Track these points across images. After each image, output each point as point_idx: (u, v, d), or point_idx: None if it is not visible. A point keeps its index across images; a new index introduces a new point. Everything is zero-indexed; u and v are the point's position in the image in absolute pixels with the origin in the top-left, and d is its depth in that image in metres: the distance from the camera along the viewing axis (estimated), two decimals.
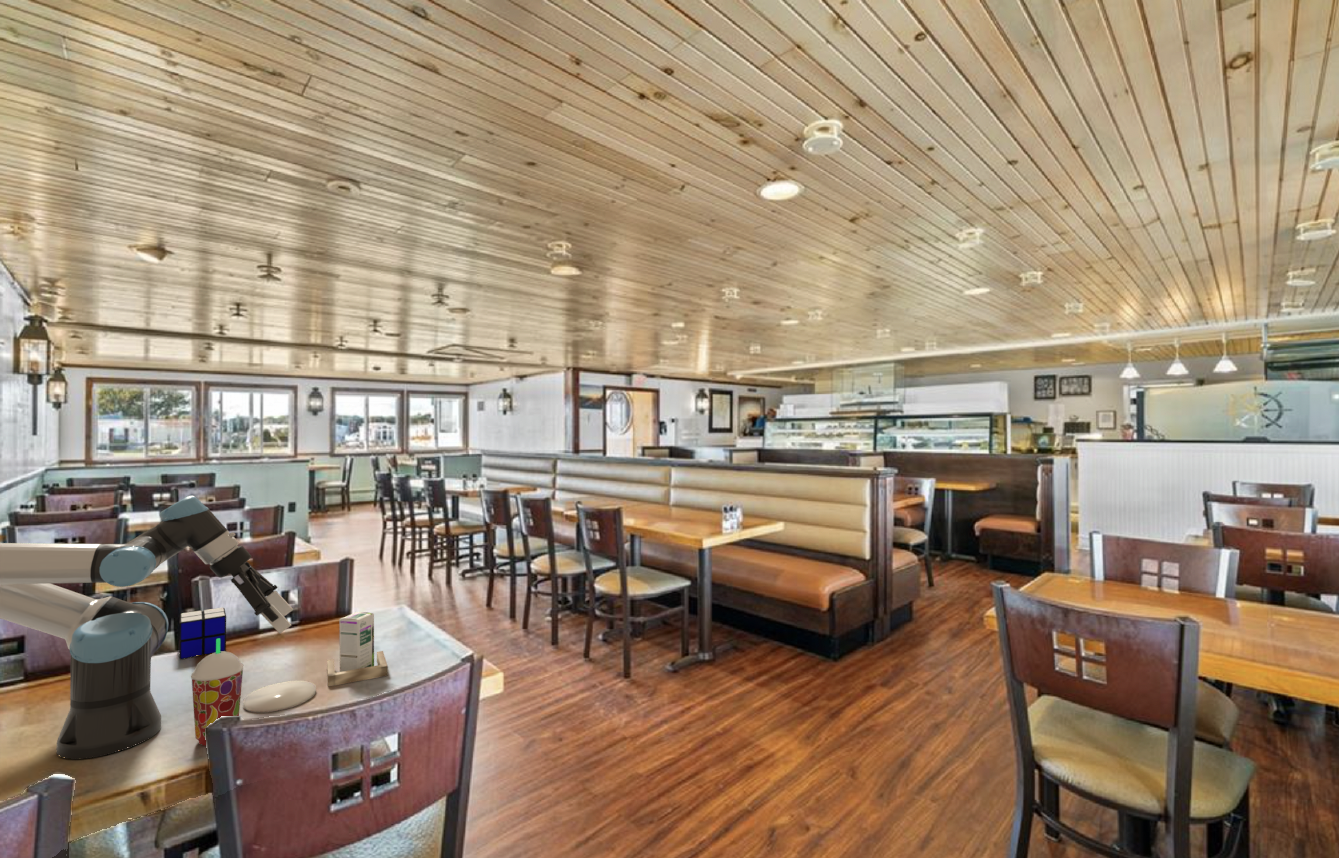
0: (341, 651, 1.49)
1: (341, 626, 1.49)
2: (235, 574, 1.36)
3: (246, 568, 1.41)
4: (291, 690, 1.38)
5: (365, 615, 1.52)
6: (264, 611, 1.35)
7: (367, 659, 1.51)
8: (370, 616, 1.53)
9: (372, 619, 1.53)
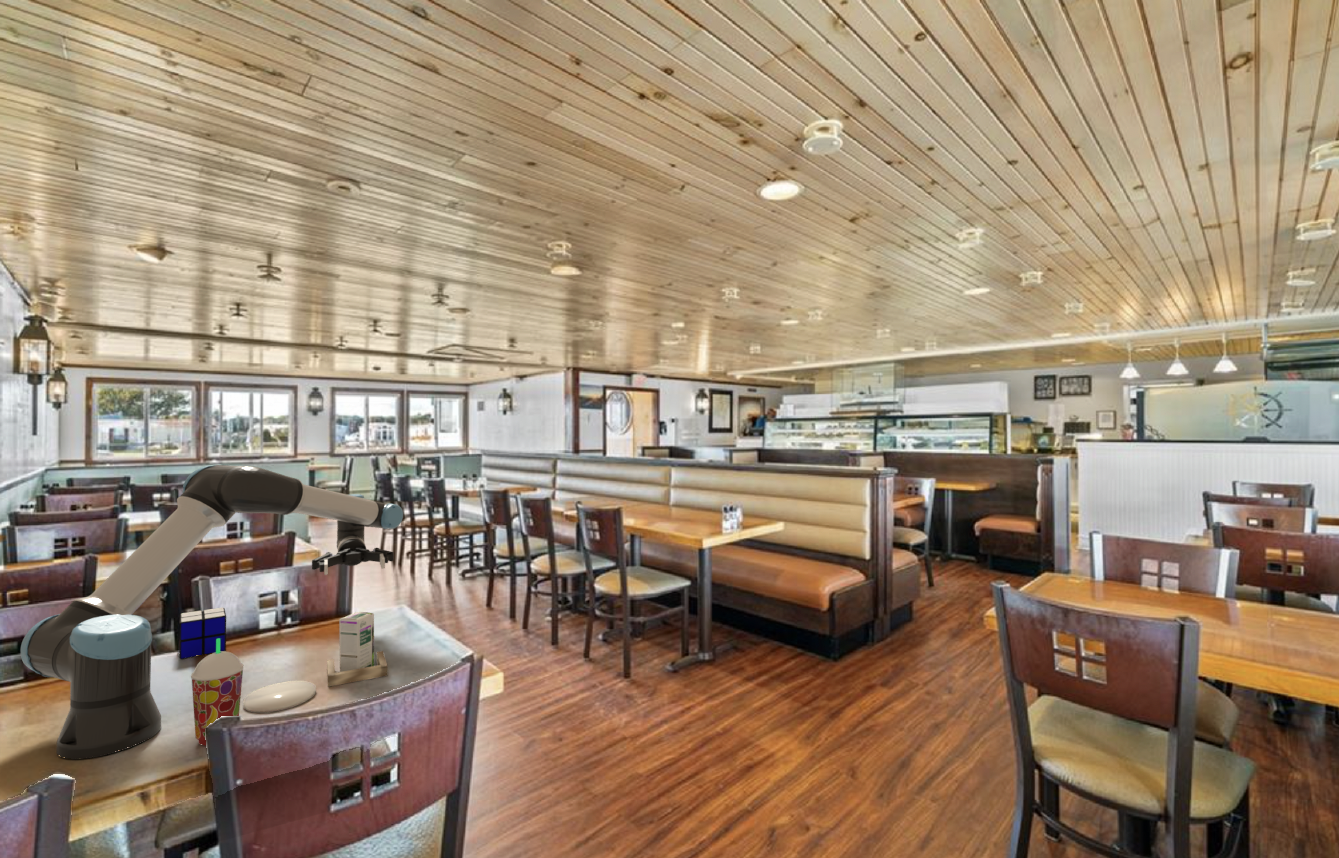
0: (341, 651, 1.49)
1: (341, 626, 1.49)
2: None
3: None
4: (291, 690, 1.38)
5: (365, 615, 1.52)
6: (387, 556, 1.69)
7: (367, 659, 1.51)
8: (370, 616, 1.53)
9: (372, 619, 1.53)
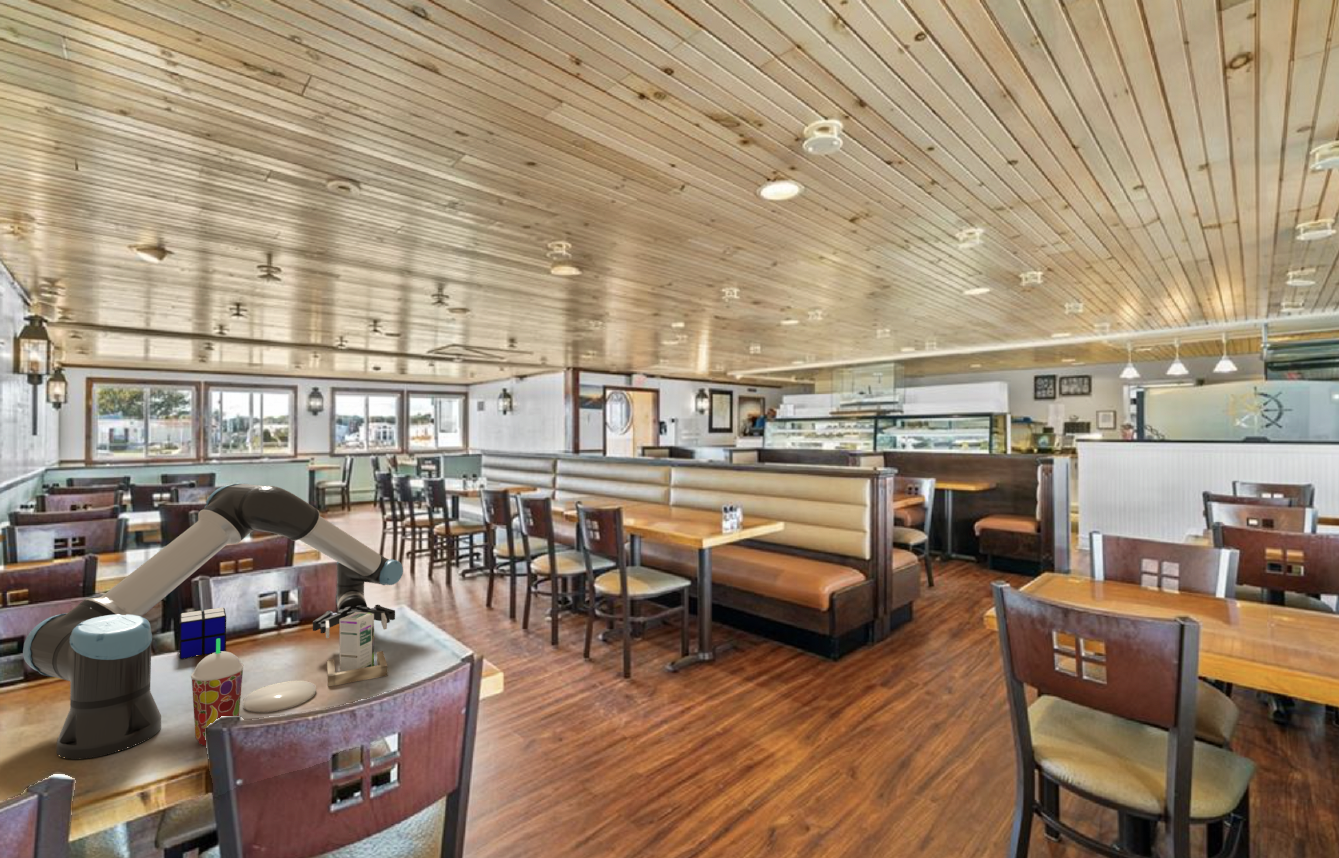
0: (341, 651, 1.49)
1: (341, 626, 1.49)
2: None
3: None
4: (291, 690, 1.38)
5: (365, 615, 1.52)
6: (389, 615, 1.68)
7: (367, 659, 1.51)
8: (370, 616, 1.53)
9: (372, 619, 1.53)
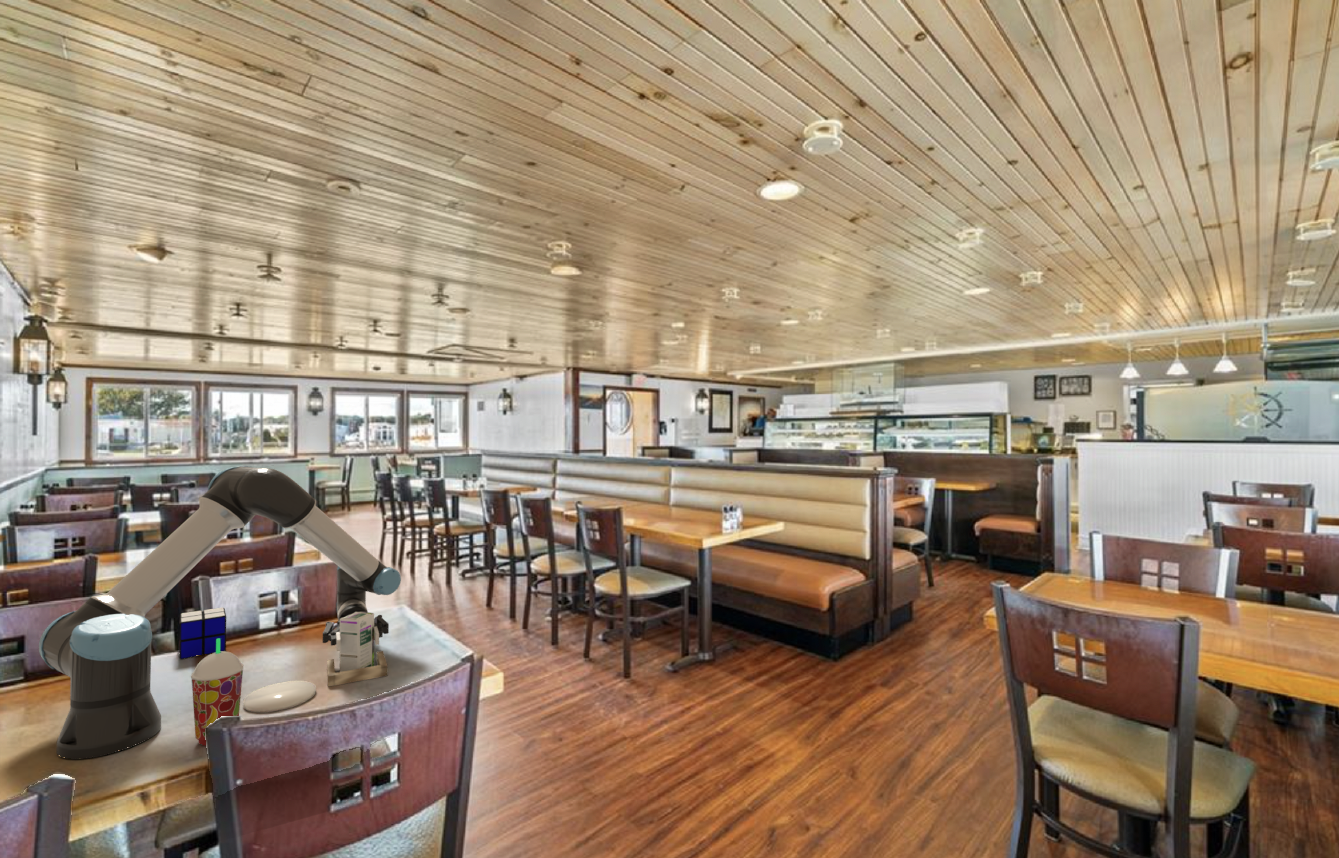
0: (341, 651, 1.49)
1: (341, 626, 1.49)
2: None
3: None
4: (291, 690, 1.38)
5: (365, 615, 1.52)
6: (382, 629, 1.56)
7: (367, 659, 1.51)
8: (370, 616, 1.53)
9: (372, 619, 1.53)
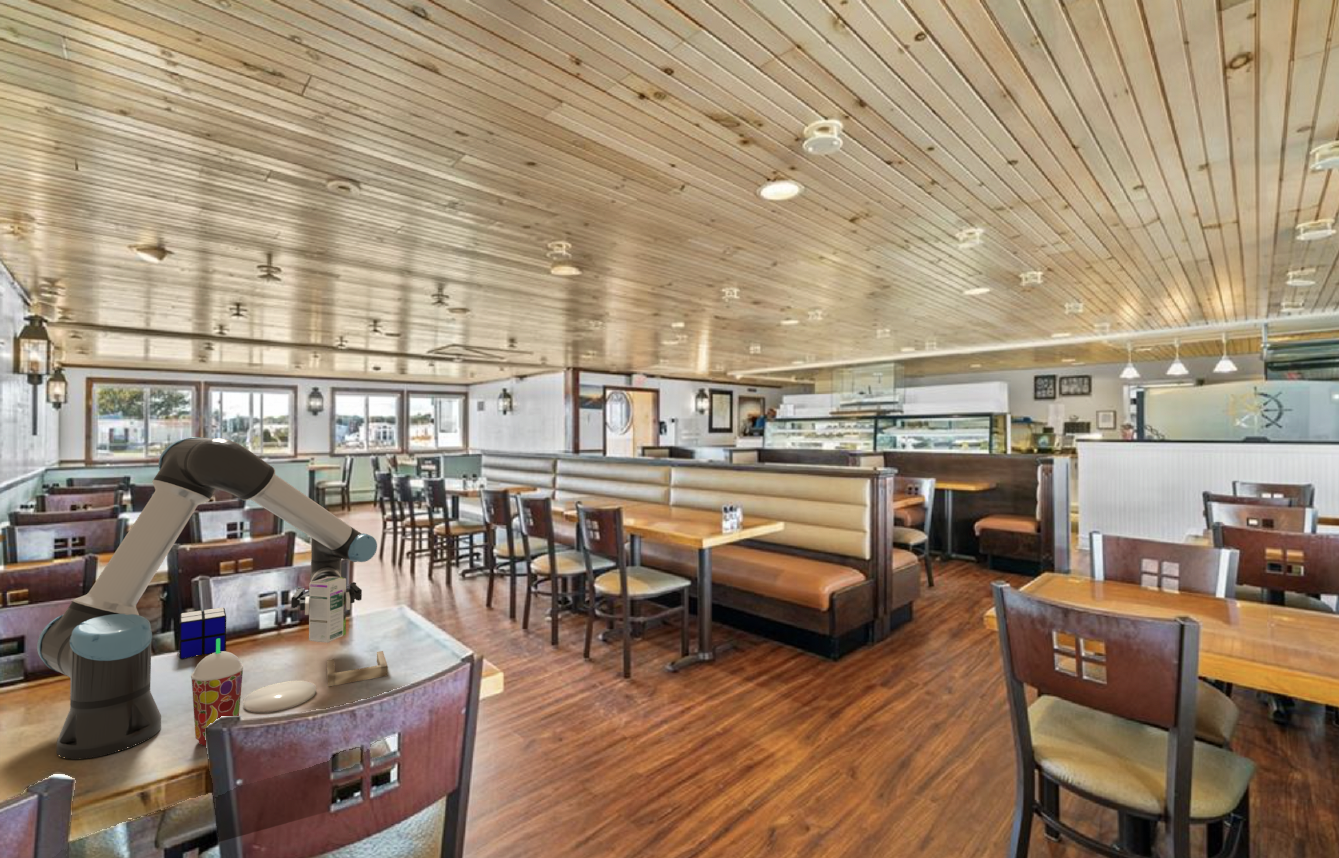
0: (310, 616, 1.43)
1: (311, 590, 1.43)
2: None
3: None
4: (291, 690, 1.38)
5: (336, 579, 1.46)
6: (354, 595, 1.50)
7: (338, 625, 1.45)
8: (342, 581, 1.47)
9: (344, 584, 1.47)
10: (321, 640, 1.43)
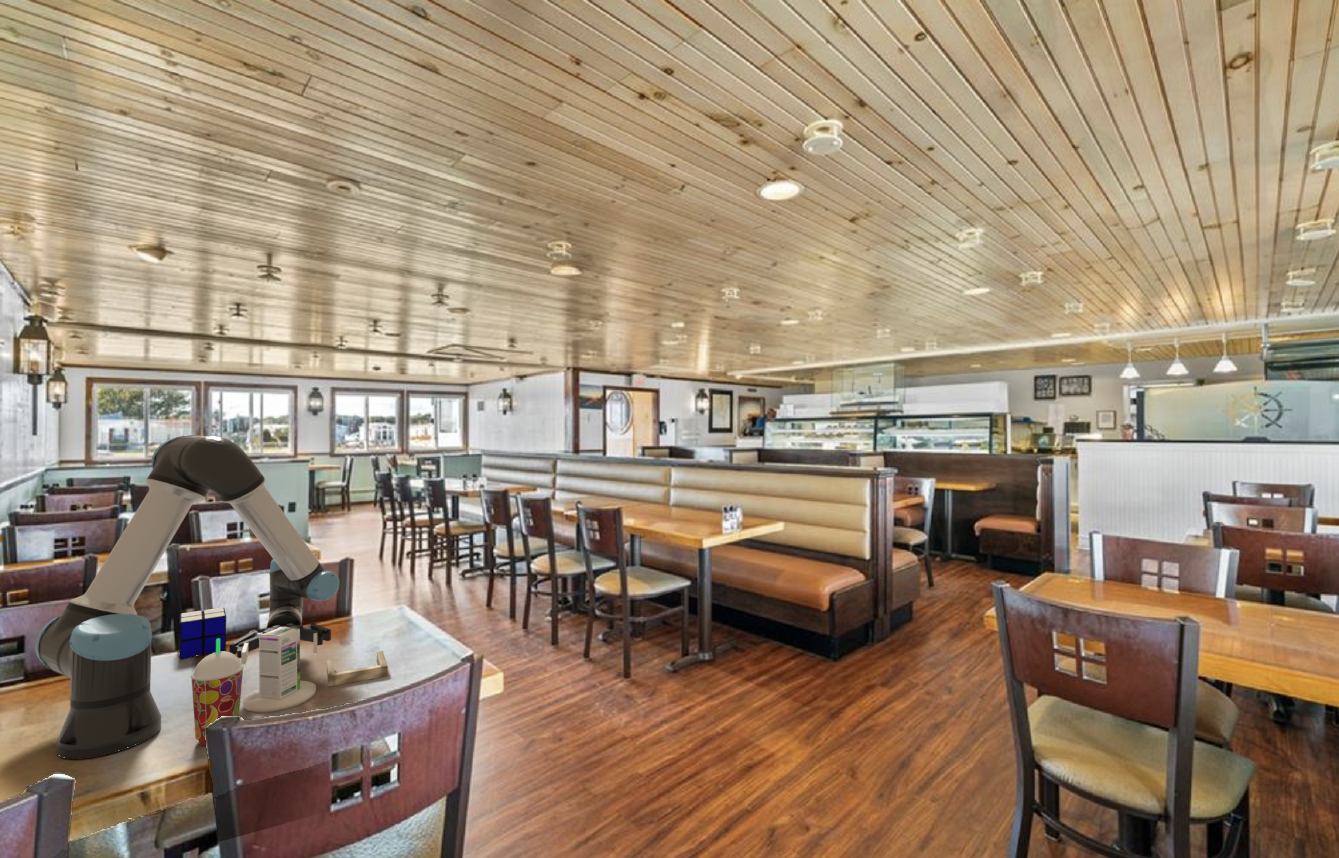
0: (261, 671, 1.34)
1: (261, 643, 1.34)
2: None
3: None
4: None
5: (289, 631, 1.37)
6: (323, 636, 1.44)
7: (291, 680, 1.36)
8: (295, 632, 1.38)
9: (297, 635, 1.38)
10: (272, 697, 1.34)
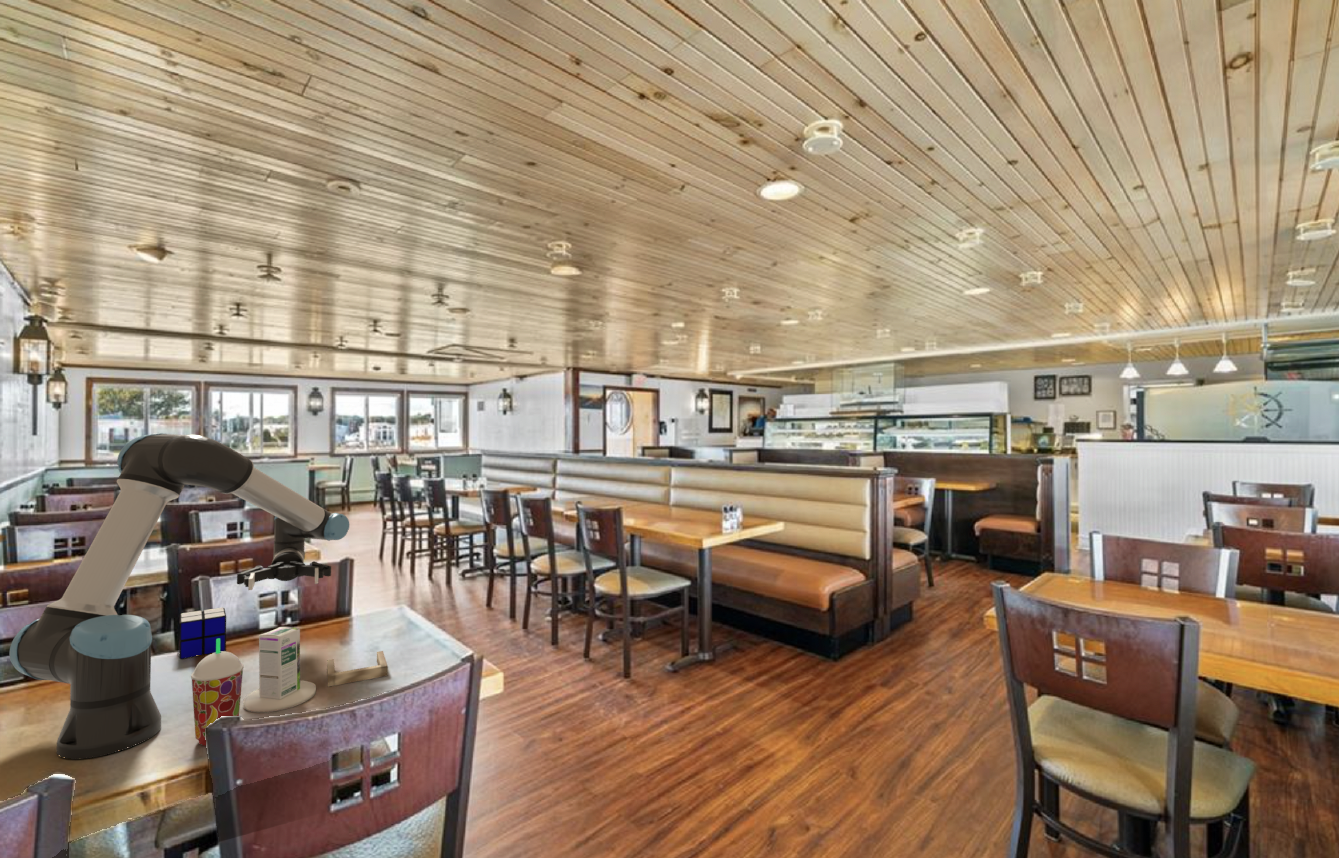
0: (261, 671, 1.34)
1: (261, 643, 1.34)
2: None
3: None
4: None
5: (289, 631, 1.37)
6: (323, 571, 1.55)
7: (291, 680, 1.36)
8: (295, 632, 1.38)
9: (297, 635, 1.38)
10: (272, 697, 1.34)
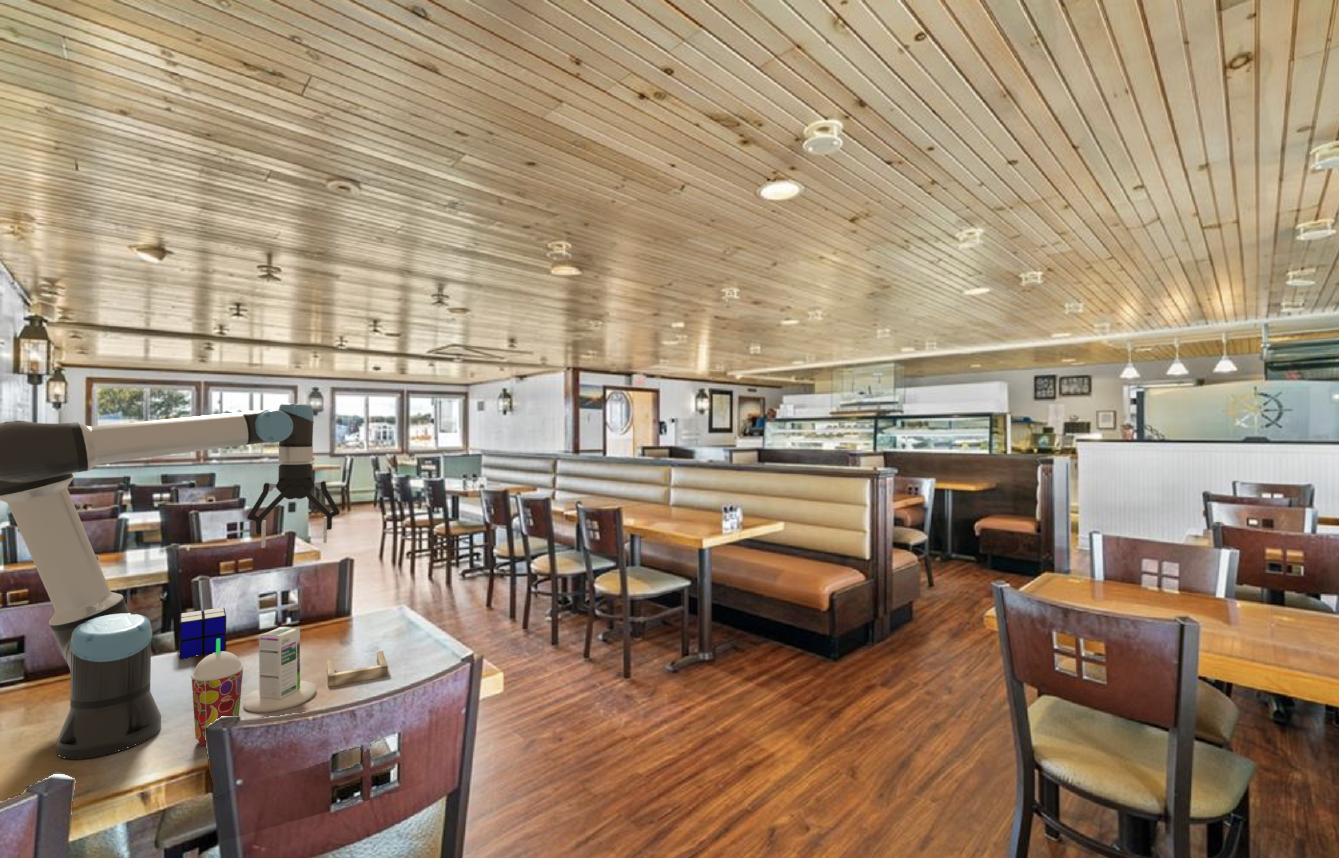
0: (261, 671, 1.34)
1: (261, 643, 1.34)
2: None
3: None
4: None
5: (289, 631, 1.37)
6: None
7: (291, 680, 1.36)
8: (295, 632, 1.38)
9: (297, 635, 1.38)
10: (272, 697, 1.34)
